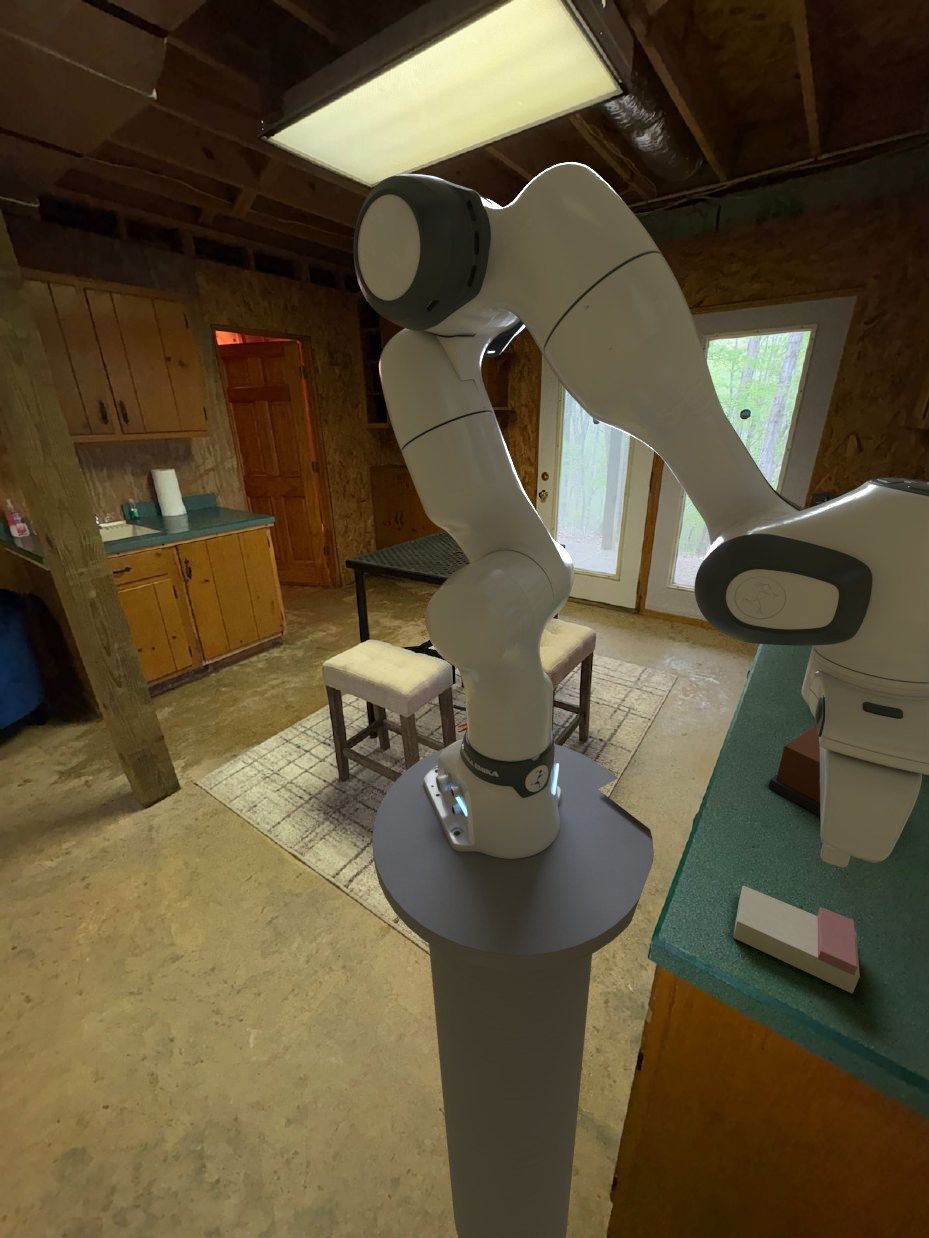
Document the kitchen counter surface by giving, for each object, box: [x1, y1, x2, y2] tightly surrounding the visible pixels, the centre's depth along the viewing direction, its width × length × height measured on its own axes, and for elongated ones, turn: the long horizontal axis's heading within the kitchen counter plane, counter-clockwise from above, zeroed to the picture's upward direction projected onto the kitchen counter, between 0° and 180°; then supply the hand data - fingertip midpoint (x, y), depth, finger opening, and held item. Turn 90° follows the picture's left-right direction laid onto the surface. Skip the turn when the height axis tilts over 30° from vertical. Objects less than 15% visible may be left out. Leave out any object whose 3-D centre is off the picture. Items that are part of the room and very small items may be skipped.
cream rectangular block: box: [733, 885, 861, 994], centre depth 49 cm, size 10×5×4 cm, turn 56°
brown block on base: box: [768, 724, 821, 817], centre depth 70 cm, size 15×7×8 cm, turn 122°
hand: (831, 821), depth 44 cm, fingers open, 8 cm apart
